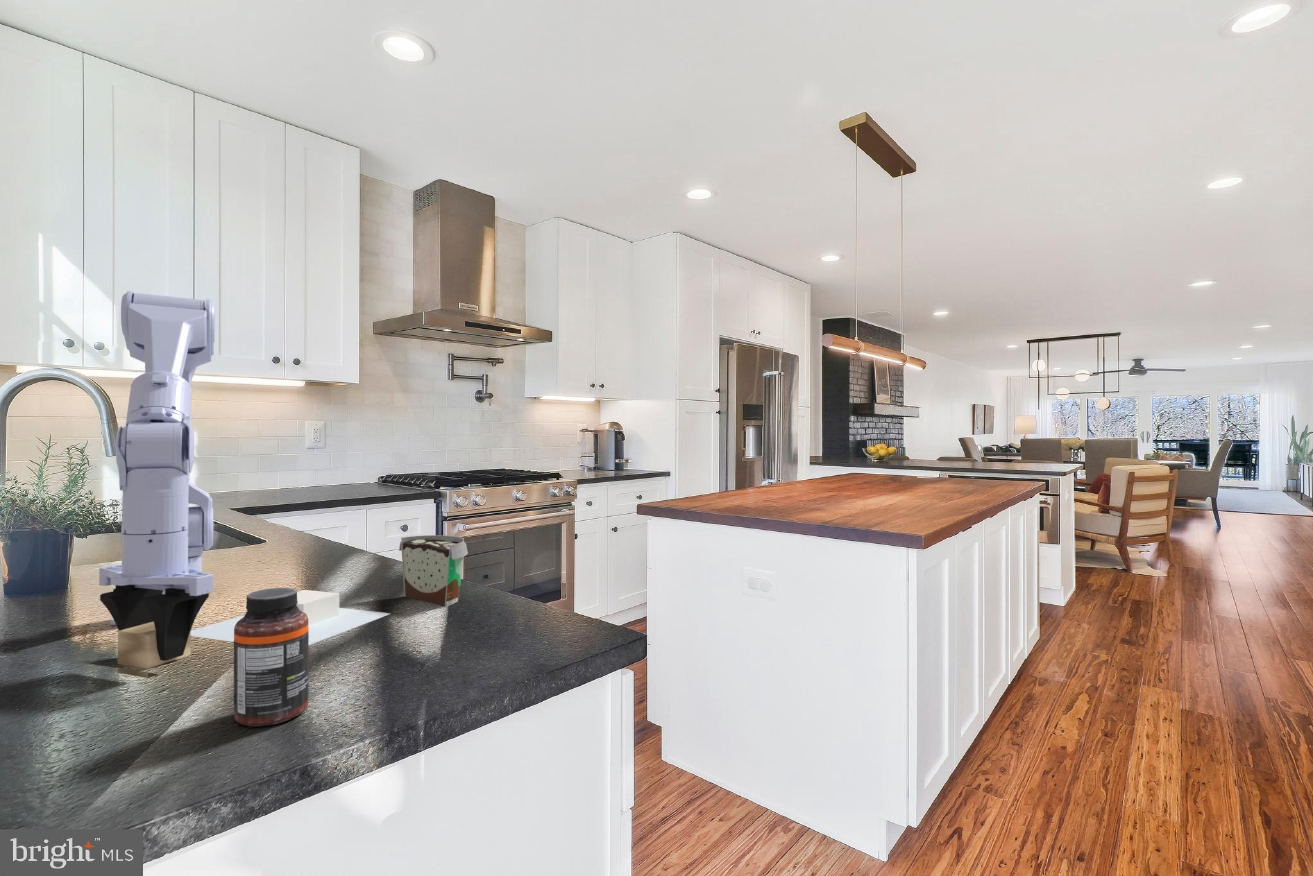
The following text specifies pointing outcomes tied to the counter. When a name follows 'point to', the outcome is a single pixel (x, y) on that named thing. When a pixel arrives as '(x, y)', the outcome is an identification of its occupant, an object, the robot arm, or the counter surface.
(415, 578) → the food container
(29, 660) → the counter surface
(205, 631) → the white flat panel
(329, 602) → the base block
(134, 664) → the maple block
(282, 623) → the supplement bottle
